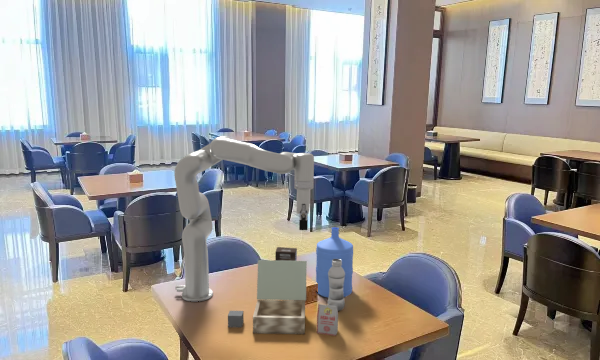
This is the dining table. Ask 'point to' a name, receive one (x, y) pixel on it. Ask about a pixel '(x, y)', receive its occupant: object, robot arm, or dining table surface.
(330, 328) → the tea bag
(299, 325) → the box
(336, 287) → the plastic bottle
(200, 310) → the dining table surface
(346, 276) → the water jug
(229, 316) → the block
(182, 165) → the robot arm
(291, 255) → the coffee box
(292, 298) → the lid
